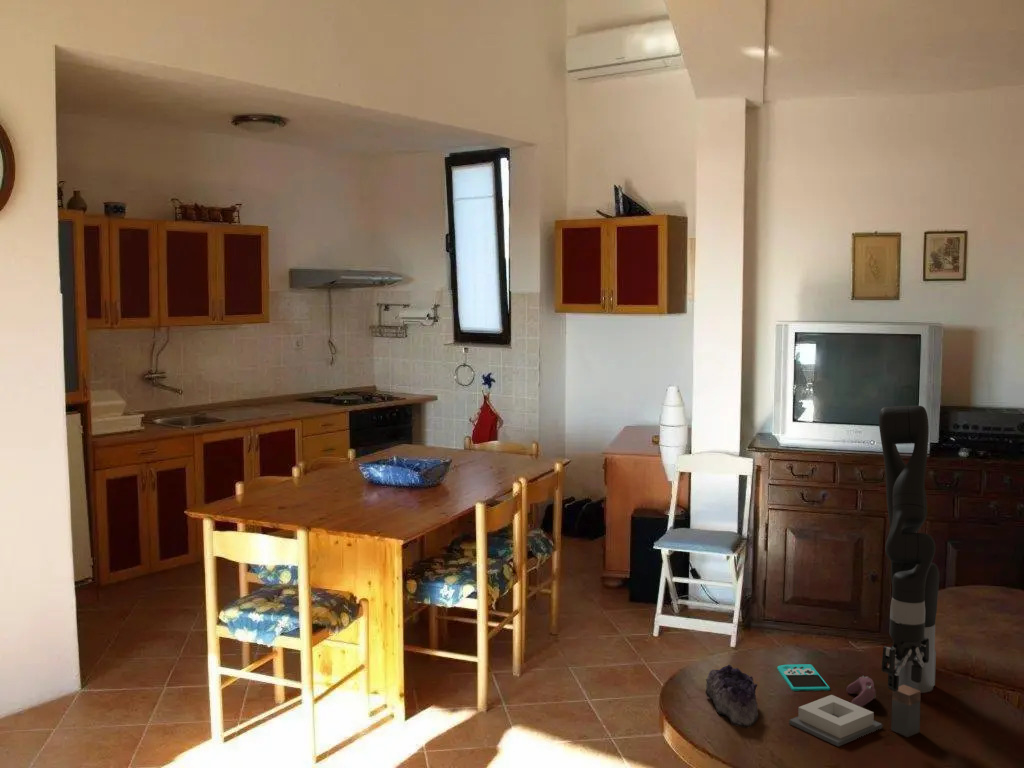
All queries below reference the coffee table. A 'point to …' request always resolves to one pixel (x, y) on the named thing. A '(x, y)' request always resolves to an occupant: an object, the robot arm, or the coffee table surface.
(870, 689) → the video game controller
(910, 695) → the plug
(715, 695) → the geode
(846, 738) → the socket
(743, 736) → the coffee table surface
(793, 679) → the handheld game console
